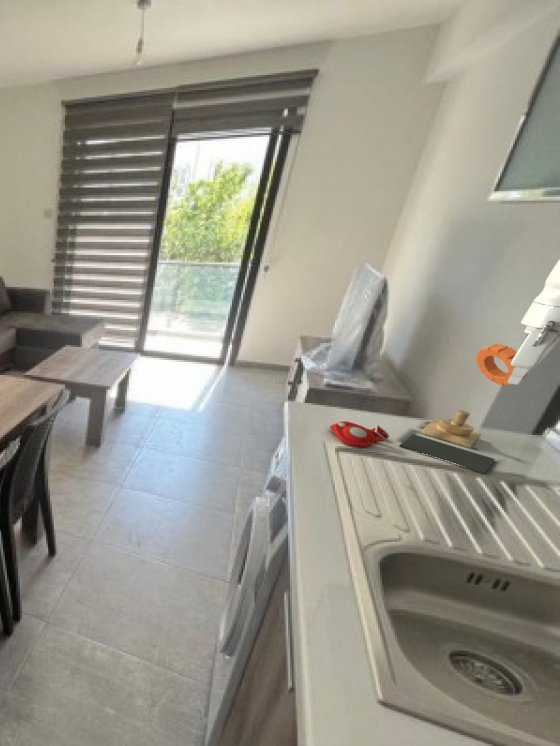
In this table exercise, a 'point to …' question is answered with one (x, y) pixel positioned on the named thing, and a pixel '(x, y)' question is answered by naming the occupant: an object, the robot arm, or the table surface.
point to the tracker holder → (358, 434)
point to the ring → (490, 368)
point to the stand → (454, 430)
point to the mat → (448, 453)
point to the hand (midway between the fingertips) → (515, 380)
